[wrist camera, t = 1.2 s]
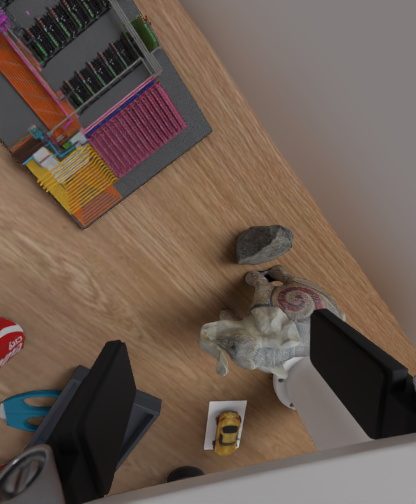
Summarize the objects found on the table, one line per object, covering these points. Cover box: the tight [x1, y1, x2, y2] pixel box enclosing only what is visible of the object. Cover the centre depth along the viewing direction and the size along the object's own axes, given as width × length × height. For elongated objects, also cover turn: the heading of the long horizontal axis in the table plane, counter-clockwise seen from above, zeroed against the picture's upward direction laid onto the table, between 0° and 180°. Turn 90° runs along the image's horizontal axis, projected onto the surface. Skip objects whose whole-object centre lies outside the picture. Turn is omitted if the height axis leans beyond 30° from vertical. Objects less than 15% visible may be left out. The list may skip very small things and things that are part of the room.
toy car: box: [204, 401, 247, 456], centre depth 31 cm, size 4×8×2 cm, turn 174°
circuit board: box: [0, 0, 212, 229], centre depth 18 cm, size 25×18×3 cm
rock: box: [236, 225, 293, 264], centre depth 24 cm, size 6×7×5 cm
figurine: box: [198, 265, 346, 379], centre depth 22 cm, size 10×14×15 cm, turn 77°
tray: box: [23, 365, 162, 472], centre depth 28 cm, size 14×13×2 cm
